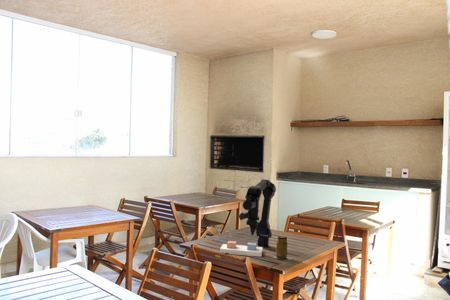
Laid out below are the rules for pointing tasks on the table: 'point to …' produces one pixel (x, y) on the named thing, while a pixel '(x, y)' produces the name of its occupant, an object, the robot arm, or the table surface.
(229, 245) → the terracotta key
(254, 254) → the key panel
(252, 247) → the slate key
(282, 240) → the condiment
